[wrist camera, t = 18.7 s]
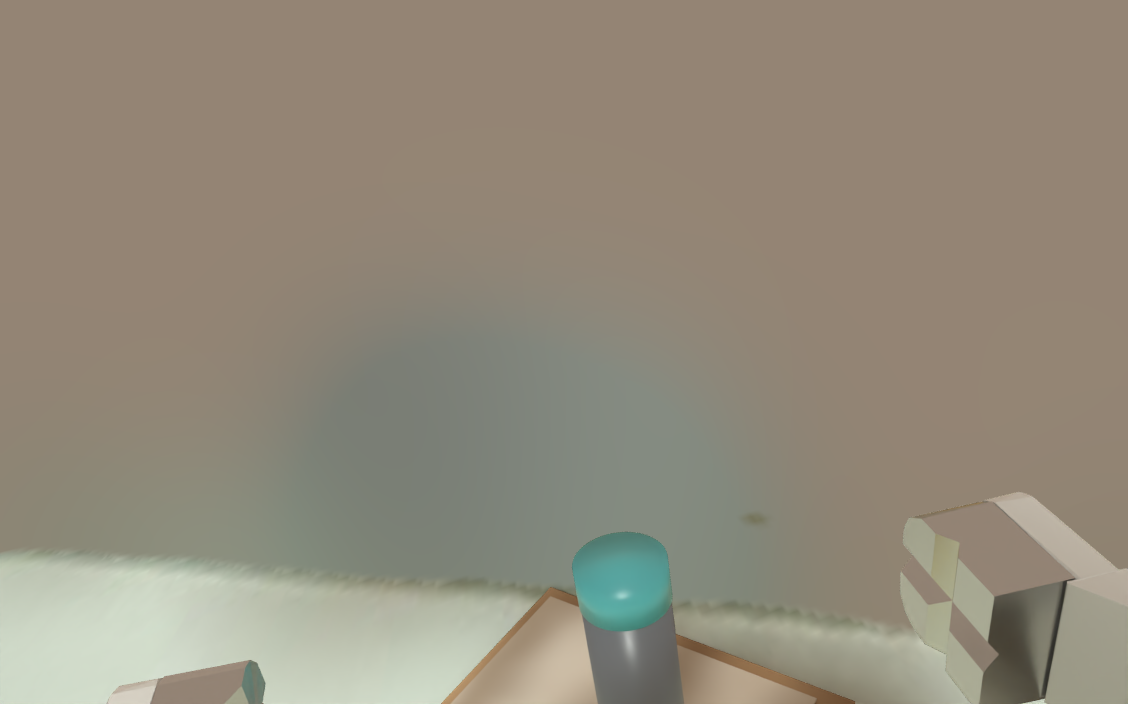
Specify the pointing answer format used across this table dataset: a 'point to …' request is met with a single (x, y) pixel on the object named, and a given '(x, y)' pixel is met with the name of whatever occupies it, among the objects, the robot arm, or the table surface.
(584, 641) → the clipboard
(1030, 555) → the robot arm
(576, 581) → the marker
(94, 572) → the table surface
